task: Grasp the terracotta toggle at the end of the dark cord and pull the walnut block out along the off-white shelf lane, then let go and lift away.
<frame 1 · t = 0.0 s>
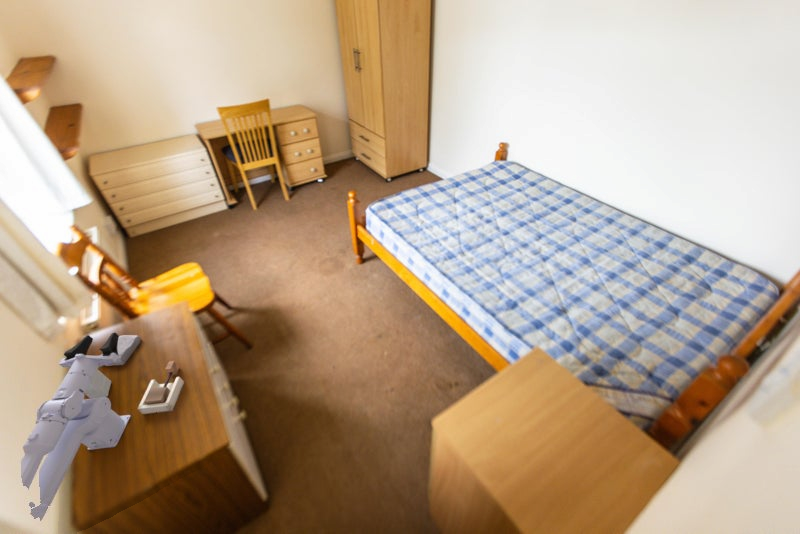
hand: (102, 335, 106), 22 cm above the chest of drawers, tool horizontal, fingers open, 7 cm apart
shelf lane: (165, 396, 113), on the chest of drawers
stone block: (121, 352, 128), on the chest of drawers
skincare box: (103, 391, 116), on the chest of drawers
corded block: (165, 383, 114), point 2 cm above the chest of drawers, slide at 0.0 cm
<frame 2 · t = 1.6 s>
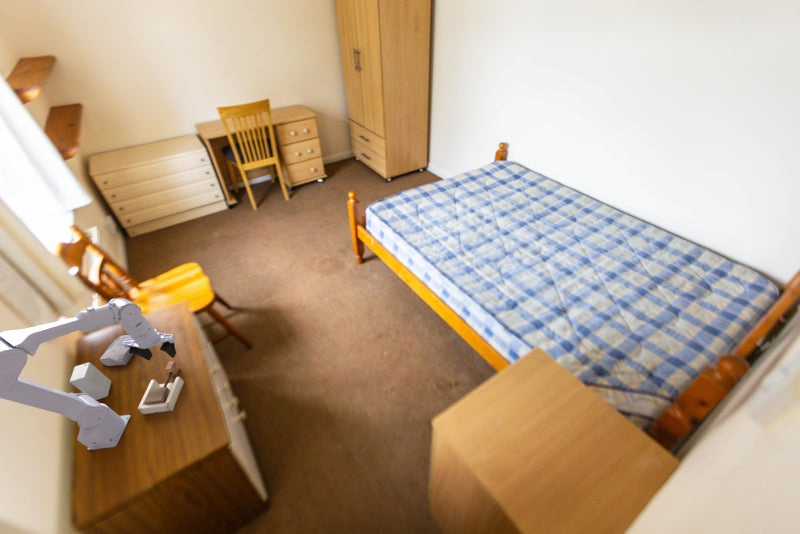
hand: (162, 356, 114), 9 cm above the chest of drawers, tool pointing down, fingers open, 7 cm apart
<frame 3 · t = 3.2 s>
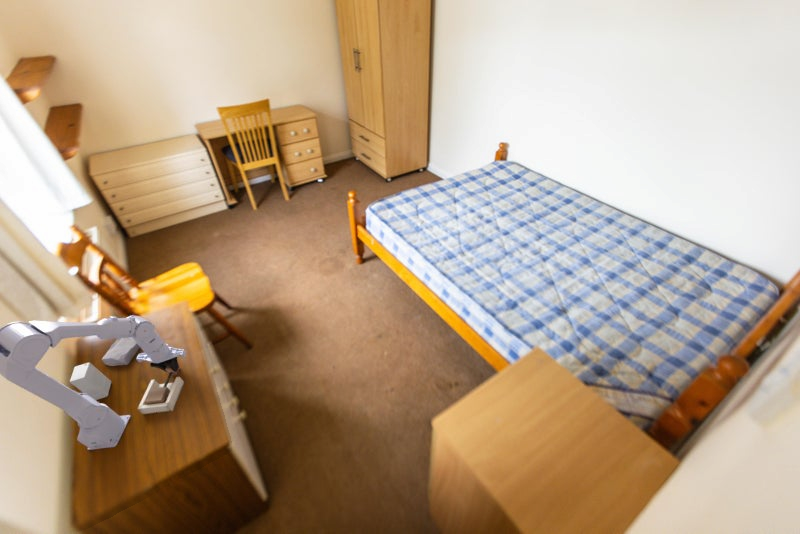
hand: (173, 369, 119), 2 cm above the chest of drawers, tool pointing down, fingers closed on corded block, 2 cm apart
corded block: (165, 383, 114), point 2 cm above the chest of drawers, slide at 0.0 cm, touching gripper
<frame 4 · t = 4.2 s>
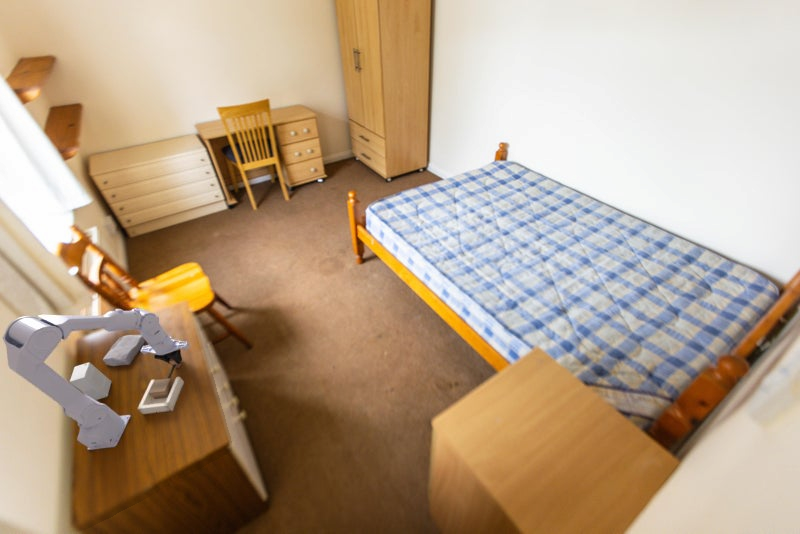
hand: (176, 361, 121), 2 cm above the chest of drawers, tool pointing down, fingers closed on corded block, 2 cm apart
corded block: (169, 375, 116), point 2 cm above the chest of drawers, slide at 3.0 cm, touching gripper
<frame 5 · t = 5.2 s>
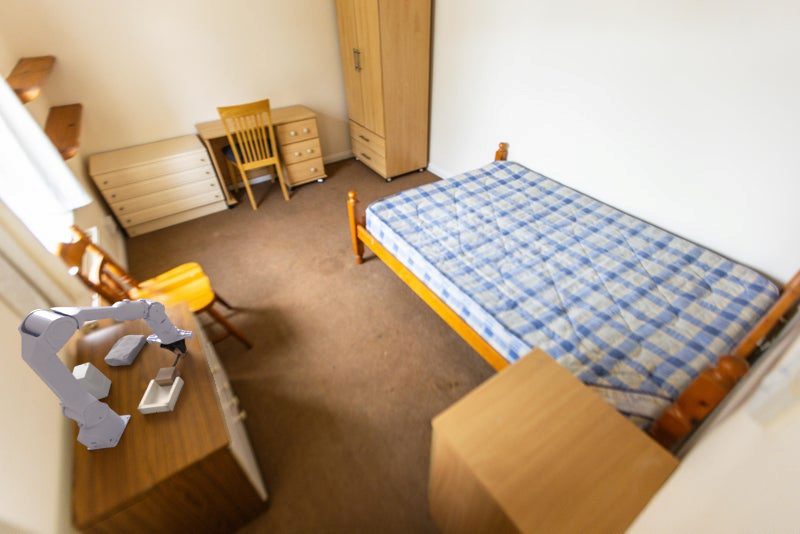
hand: (181, 351, 125), 2 cm above the chest of drawers, tool pointing down, fingers closed on corded block, 2 cm apart
corded block: (174, 363, 120), point 2 cm above the chest of drawers, slide at 7.4 cm, touching gripper
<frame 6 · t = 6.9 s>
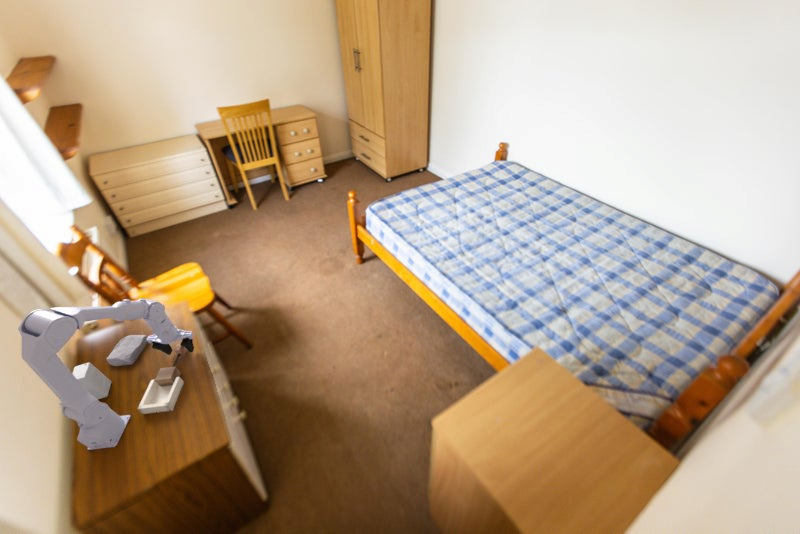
hand: (181, 351, 125), 2 cm above the chest of drawers, tool pointing down, fingers open, 7 cm apart
corded block: (174, 363, 120), point 2 cm above the chest of drawers, slide at 7.5 cm
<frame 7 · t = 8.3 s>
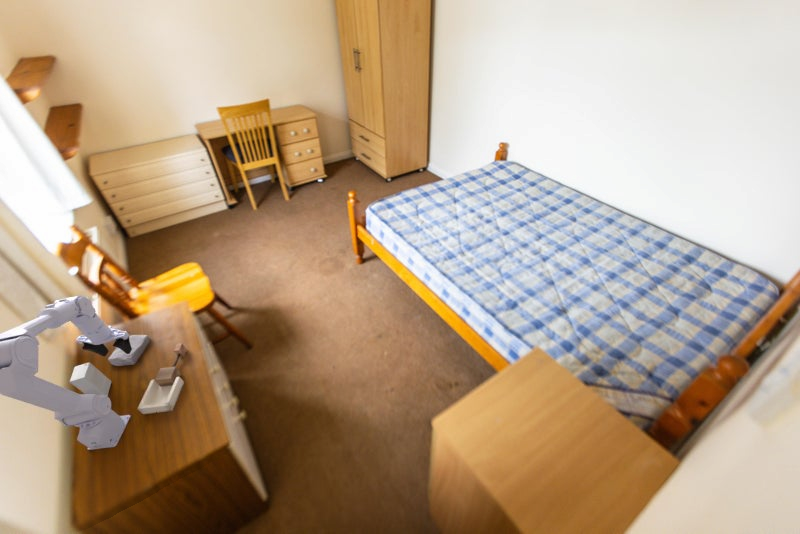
hand: (118, 352, 116), 9 cm above the chest of drawers, tool pointing down, fingers open, 7 cm apart
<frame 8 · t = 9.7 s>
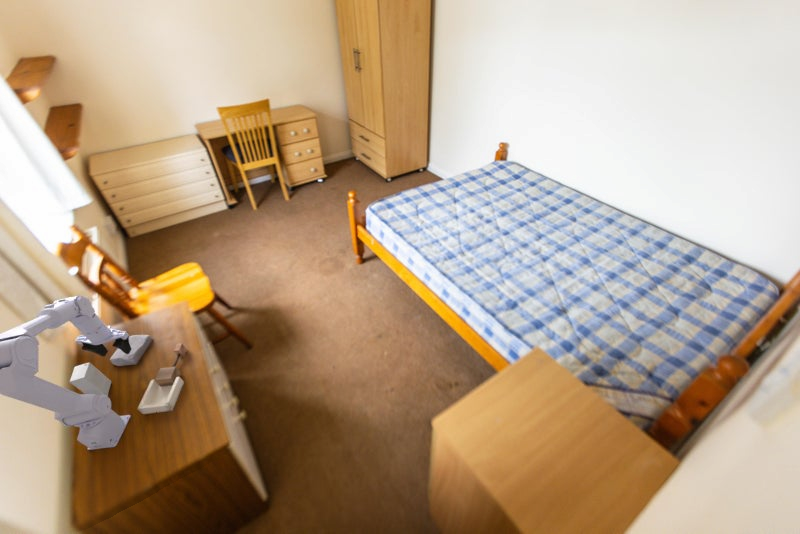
hand: (117, 352, 116), 9 cm above the chest of drawers, tool pointing down, fingers open, 7 cm apart
at the end: corded block slide at 7.5 cm; the gripper is holding nothing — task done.
